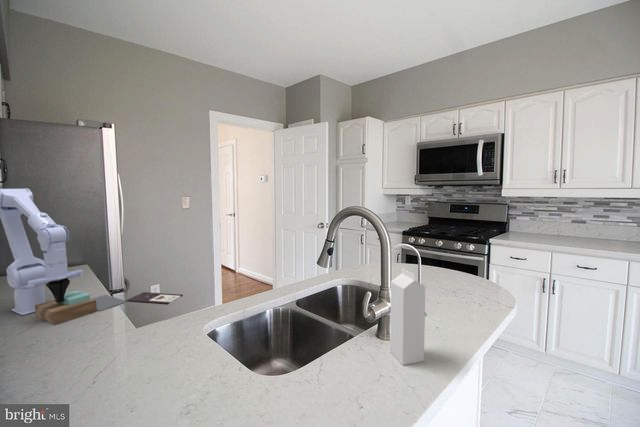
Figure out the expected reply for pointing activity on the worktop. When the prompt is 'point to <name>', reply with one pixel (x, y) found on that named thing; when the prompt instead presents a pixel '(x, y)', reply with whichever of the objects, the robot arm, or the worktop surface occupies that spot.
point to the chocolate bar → (155, 298)
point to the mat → (107, 302)
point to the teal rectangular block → (75, 297)
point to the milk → (407, 318)
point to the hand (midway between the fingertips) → (59, 301)
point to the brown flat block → (64, 311)
